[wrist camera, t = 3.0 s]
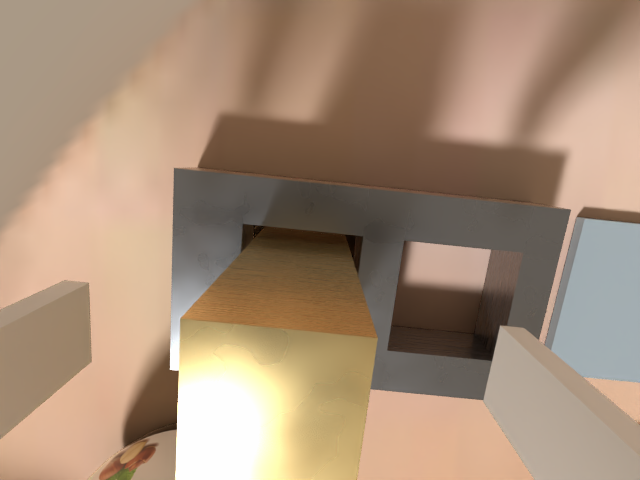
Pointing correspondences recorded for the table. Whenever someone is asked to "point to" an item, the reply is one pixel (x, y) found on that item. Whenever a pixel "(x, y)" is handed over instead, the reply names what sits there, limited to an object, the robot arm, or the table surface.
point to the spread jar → (143, 458)
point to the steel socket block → (377, 261)
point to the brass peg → (277, 365)
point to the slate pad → (600, 302)
